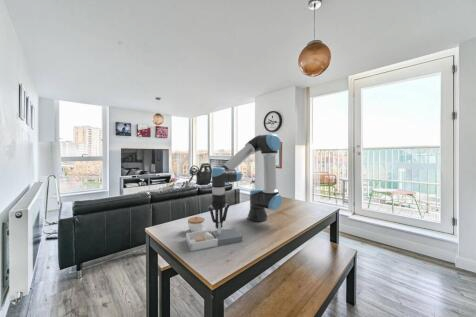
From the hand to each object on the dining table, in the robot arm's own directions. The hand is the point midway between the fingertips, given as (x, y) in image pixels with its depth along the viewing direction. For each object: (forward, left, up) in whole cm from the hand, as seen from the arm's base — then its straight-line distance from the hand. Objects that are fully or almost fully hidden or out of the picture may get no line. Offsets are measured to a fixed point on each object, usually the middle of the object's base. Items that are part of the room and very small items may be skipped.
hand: (219, 233), depth 119 cm
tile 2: (+7, 0, -2) cm, 7 cm away
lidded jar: (+10, -19, -4) cm, 22 cm away
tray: (+11, 0, -4) cm, 11 cm away
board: (-5, 0, -4) cm, 6 cm away
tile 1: (+11, 0, -1) cm, 11 cm away
